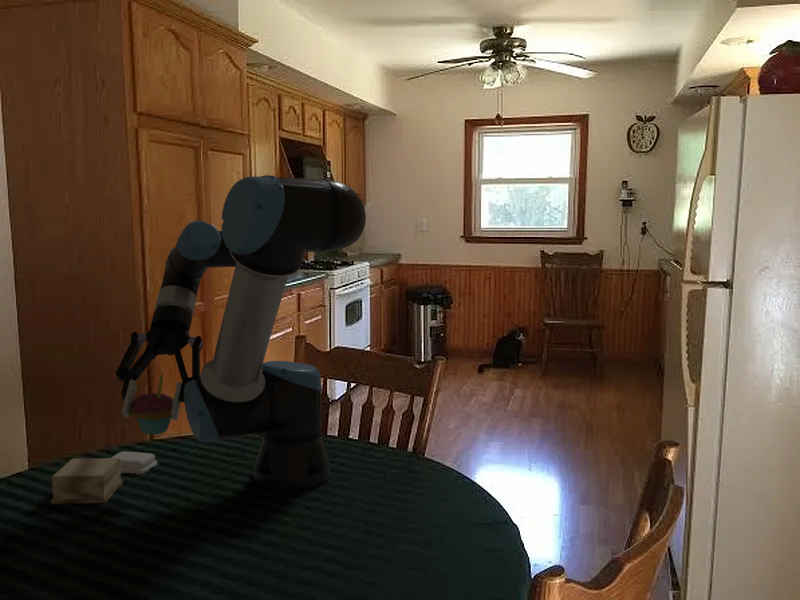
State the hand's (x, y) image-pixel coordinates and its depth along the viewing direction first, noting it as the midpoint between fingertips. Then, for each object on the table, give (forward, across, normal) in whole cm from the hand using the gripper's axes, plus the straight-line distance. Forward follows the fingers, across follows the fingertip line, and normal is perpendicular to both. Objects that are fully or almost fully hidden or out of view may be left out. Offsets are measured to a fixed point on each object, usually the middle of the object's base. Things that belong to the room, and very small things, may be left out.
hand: (149, 415), depth 126 cm
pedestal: (+11, +11, -11) cm, 19 cm away
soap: (+3, +7, -21) cm, 22 cm away
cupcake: (+1, 0, -6) cm, 6 cm away
